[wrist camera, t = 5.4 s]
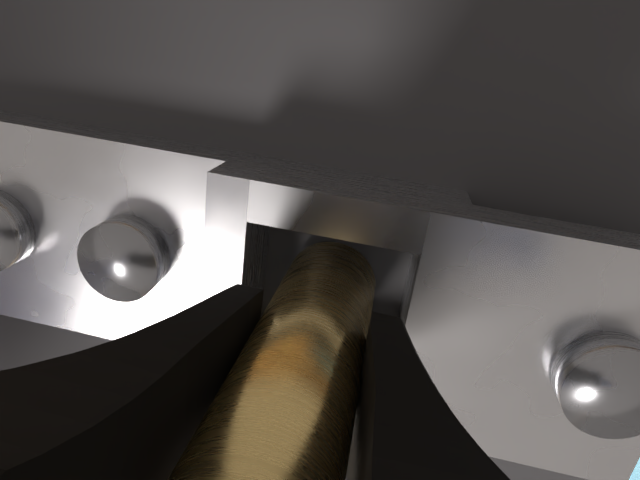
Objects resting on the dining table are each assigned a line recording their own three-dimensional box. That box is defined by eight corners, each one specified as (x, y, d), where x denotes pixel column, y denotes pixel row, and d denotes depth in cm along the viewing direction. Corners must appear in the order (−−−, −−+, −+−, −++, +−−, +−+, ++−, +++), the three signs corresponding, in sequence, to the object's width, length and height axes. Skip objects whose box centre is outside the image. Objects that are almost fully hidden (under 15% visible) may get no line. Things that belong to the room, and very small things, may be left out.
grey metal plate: (-3, 289, 16) (-95, 342, 13) (-26, 105, 14) (-143, 119, 11) (591, 420, 14) (638, 516, 11) (674, 227, 12) (760, 284, 9)
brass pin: (284, 311, 14) (141, 599, 7) (293, 233, 13) (140, 466, 6) (367, 329, 14) (316, 650, 6) (382, 251, 13) (343, 518, 5)
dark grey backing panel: (-14, 380, 19) (-36, 396, 18) (-86, -97, 13) (-123, -108, 12) (562, 520, 17) (570, 547, 16) (790, 11, 11) (825, 8, 10)
